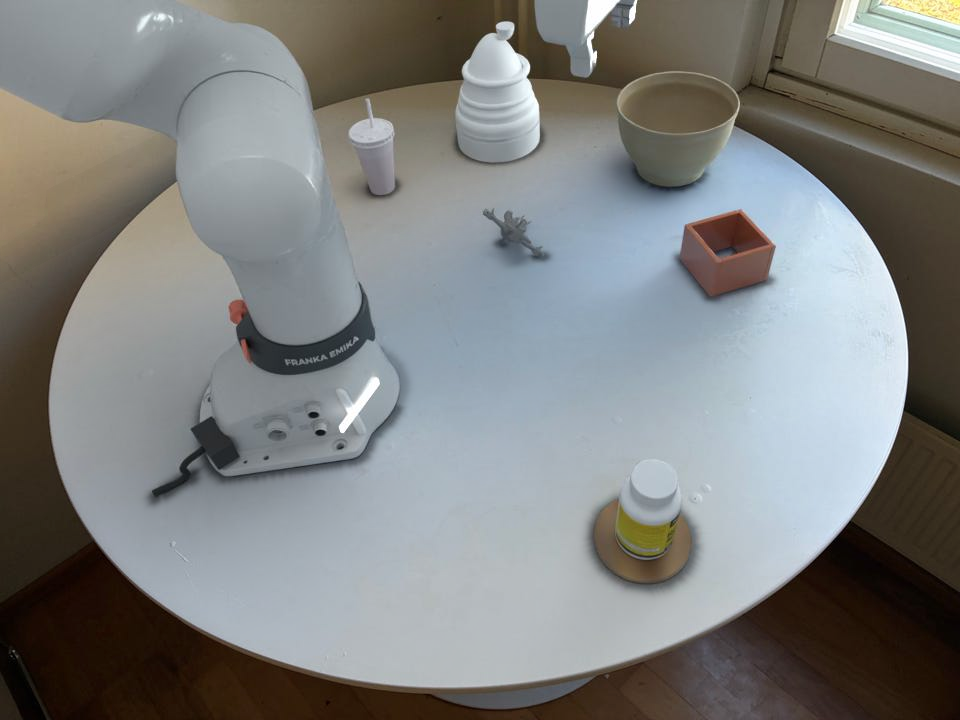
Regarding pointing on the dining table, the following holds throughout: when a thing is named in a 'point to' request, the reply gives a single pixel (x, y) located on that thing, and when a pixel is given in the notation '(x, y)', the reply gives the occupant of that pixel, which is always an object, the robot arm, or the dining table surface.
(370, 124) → the smoothie
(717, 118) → the planter bowl
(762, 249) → the box
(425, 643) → the dining table surface
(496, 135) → the honey pot
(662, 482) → the supplement bottle
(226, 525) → the dining table surface
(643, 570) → the coaster
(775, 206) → the dining table surface
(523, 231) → the grey creature figurine
